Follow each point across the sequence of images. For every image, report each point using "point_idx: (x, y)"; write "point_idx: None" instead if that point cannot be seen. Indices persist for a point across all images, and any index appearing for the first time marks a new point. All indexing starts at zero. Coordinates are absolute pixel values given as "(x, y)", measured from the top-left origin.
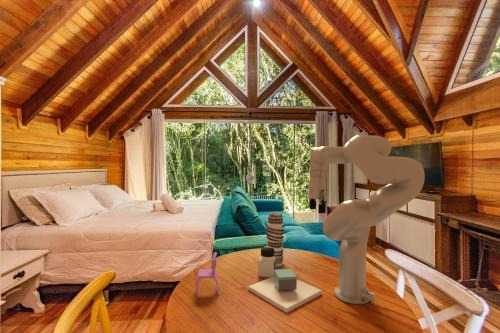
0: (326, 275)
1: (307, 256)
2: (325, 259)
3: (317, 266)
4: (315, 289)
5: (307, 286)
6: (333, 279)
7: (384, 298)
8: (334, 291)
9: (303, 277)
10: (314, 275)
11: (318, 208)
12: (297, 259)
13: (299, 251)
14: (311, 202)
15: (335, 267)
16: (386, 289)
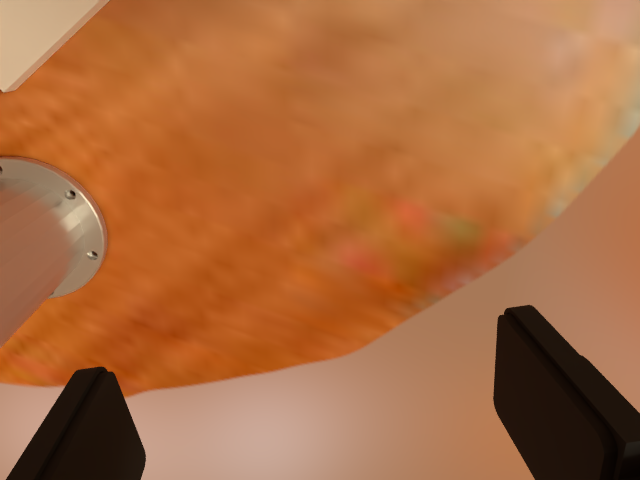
0: (243, 187)
1: (515, 159)
2: (454, 248)
3: (361, 175)
4: (5, 60)
5: (34, 22)
6: (198, 207)
7: (42, 343)
8: (22, 160)
9: (209, 46)
10: (240, 121)
11: (59, 431)
12: (479, 80)
13: (609, 130)
14: (581, 437)
15: (344, 263)
16: (124, 380)
